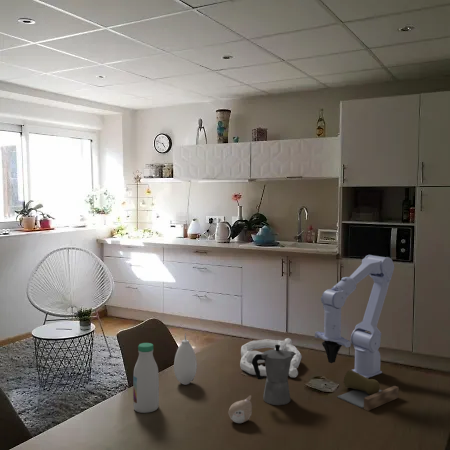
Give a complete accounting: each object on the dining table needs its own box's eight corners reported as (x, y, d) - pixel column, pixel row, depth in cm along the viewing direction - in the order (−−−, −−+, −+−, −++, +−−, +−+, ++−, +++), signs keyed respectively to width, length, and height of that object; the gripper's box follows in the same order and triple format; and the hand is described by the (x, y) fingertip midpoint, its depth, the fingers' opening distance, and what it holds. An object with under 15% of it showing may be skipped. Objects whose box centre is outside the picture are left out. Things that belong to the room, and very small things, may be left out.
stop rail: (393, 396, 158) (394, 385, 158) (398, 397, 157) (398, 387, 156) (363, 408, 148) (363, 397, 148) (368, 410, 147) (368, 399, 147)
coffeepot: (288, 390, 162) (289, 338, 160) (302, 402, 153) (302, 347, 152) (246, 397, 156) (246, 343, 155) (257, 409, 147) (258, 352, 146)
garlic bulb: (243, 429, 135) (244, 401, 135) (224, 423, 139) (224, 396, 138) (255, 419, 141) (255, 393, 140) (236, 414, 144) (236, 388, 144)
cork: (355, 383, 167) (383, 393, 158) (344, 390, 163) (372, 401, 155) (354, 367, 166) (381, 376, 157) (343, 373, 162) (371, 384, 154)
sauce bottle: (170, 386, 165) (170, 334, 164) (180, 378, 172) (180, 328, 171) (190, 389, 162) (190, 337, 161) (200, 381, 169) (200, 331, 168)
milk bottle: (162, 404, 150) (162, 342, 149) (151, 415, 143) (151, 349, 142) (141, 401, 153) (140, 339, 152) (128, 411, 146) (128, 347, 144)
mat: (367, 385, 166) (367, 384, 166) (392, 395, 158) (392, 394, 158) (337, 397, 157) (337, 396, 157) (362, 408, 149) (362, 407, 149)
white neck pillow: (305, 383, 172) (305, 366, 171) (240, 383, 173) (239, 367, 172) (298, 348, 199) (298, 333, 198) (241, 349, 201) (241, 334, 200)
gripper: (309, 321, 171) (308, 358, 172) (341, 330, 159) (340, 370, 160) (322, 318, 175) (321, 354, 176) (355, 327, 164) (354, 366, 164)
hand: (331, 362), depth 168 cm, fingers closed
